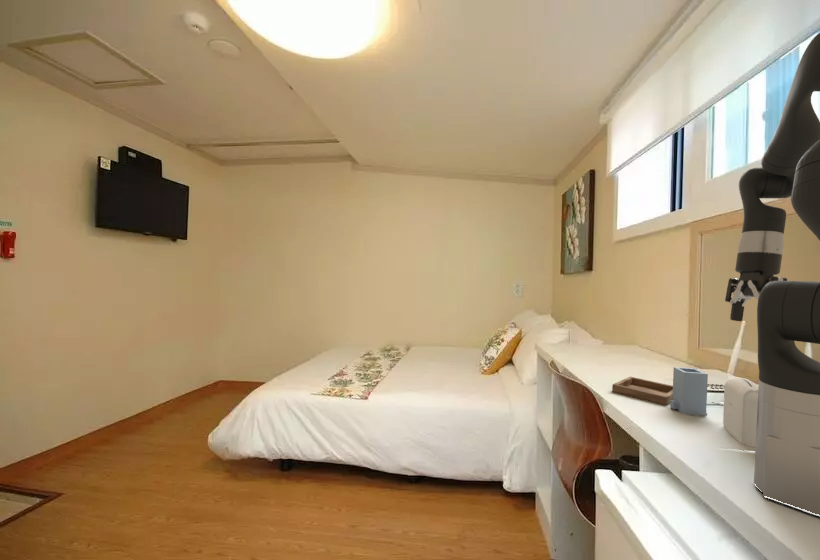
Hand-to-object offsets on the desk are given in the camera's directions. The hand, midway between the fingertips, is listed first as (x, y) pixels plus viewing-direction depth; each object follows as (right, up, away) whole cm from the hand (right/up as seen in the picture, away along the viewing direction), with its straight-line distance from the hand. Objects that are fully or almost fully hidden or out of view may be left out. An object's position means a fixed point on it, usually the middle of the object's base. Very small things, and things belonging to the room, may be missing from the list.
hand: (749, 322), depth 84 cm
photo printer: (-9, -24, -8) cm, 26 cm away
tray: (-12, -23, +18) cm, 31 cm away
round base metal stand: (-10, -23, +6) cm, 25 cm away
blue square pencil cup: (-10, -23, +6) cm, 25 cm away
